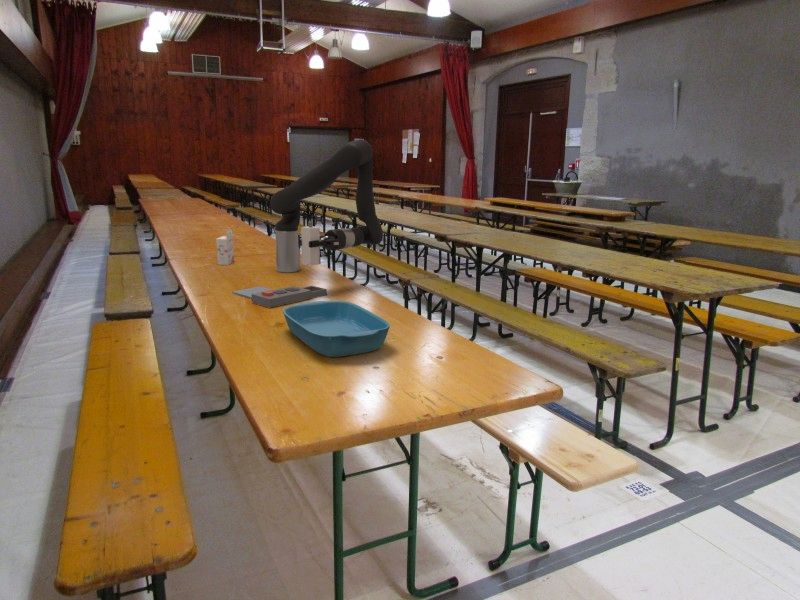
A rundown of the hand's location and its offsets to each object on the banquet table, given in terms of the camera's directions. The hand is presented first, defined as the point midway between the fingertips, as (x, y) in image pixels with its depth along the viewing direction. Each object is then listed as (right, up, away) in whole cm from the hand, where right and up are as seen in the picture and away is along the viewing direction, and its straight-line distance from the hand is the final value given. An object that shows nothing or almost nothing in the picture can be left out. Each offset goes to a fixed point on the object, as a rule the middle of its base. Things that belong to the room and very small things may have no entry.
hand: (304, 243), depth 196 cm
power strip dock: (-5, -19, 0) cm, 20 cm away
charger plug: (+1, -7, +4) cm, 8 cm away
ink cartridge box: (-45, -3, +56) cm, 72 cm away
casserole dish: (+15, -31, -41) cm, 53 cm away
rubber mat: (-18, -17, +5) cm, 25 cm away
